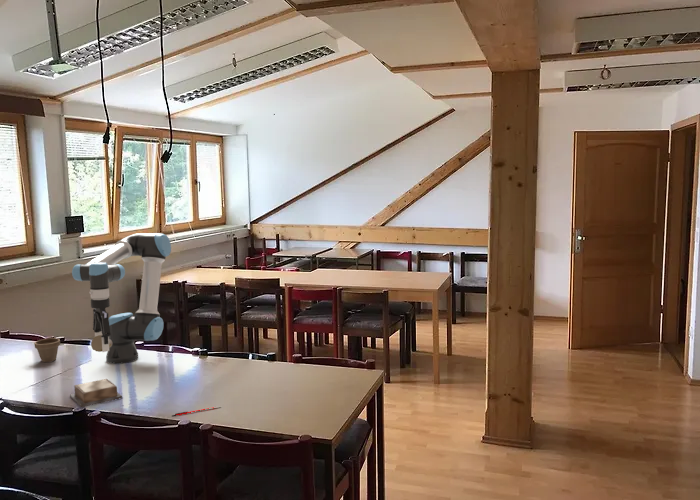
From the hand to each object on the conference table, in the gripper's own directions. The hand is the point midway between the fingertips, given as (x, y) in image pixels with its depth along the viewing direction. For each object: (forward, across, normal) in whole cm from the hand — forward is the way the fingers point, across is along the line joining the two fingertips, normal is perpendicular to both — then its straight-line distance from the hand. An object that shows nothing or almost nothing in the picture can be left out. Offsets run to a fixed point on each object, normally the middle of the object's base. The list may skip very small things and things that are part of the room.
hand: (102, 348), depth 260 cm
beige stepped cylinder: (+1, -1, 0) cm, 1 cm away
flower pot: (+16, -57, -10) cm, 60 cm away
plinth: (+16, +14, -7) cm, 23 cm away
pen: (+17, +56, +18) cm, 61 cm away
